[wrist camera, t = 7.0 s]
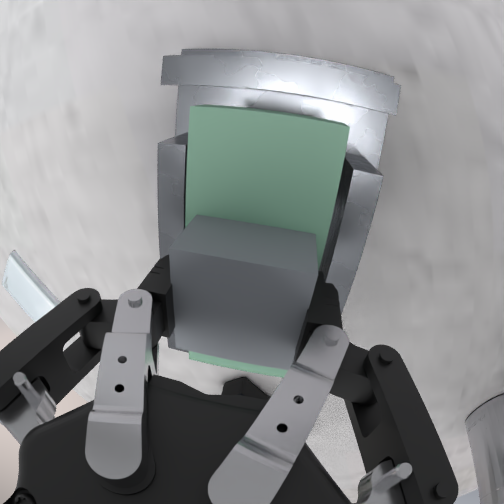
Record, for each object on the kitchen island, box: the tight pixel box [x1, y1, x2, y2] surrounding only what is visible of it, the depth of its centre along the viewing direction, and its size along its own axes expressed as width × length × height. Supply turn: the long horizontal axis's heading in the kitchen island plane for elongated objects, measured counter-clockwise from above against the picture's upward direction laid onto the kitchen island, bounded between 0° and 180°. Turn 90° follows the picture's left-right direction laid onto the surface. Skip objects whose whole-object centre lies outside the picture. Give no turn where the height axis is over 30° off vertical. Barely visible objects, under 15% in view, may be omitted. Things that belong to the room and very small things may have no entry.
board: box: [169, 104, 350, 378], centre depth 13 cm, size 14×6×5 cm, turn 174°
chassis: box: [158, 49, 401, 364], centre depth 18 cm, size 21×13×6 cm, turn 174°
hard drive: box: [2, 251, 61, 322], centre depth 31 cm, size 2×8×12 cm
